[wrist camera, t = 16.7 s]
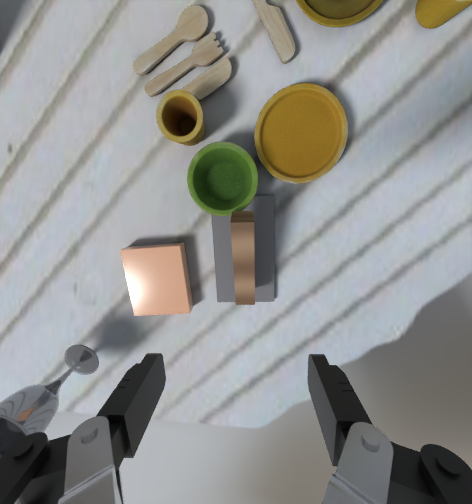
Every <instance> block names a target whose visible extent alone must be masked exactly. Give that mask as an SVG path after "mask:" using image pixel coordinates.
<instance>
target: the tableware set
mask: <svg viewBox="0 0 472 504" xmlns="http://www.w3.org/2000/svg"><path fill="white" fill-rule="evenodd" d="M296 1H297V3H298V5H299V6H300V8H301V9H302V10H303V12H304V13H305V14H306V15H307V16H308V17H309V18H311V19H312V20H313V21H315V22H317V23H319V24H321V25H324V26H329V27H343V26H348V25H351V24H354V23H357V22H359V21H360V20H362V19H364V18H365V17H367V16H368V15H369V14H371V13H372V12H373V11H374V10H375V9H376V8H377V7H378V6H379V5H380V4H381V3H382V1H383V0H296ZM253 3H254V5H255V7H256V9H257V11H258V13H259V15H260V17H261V20H262V22H263V24H264V26H265V28H266V30H267V32H268V34H269V36H270V38H271V41H272V43H273V45H274V47H275V49H276V51H277V53H278V55H279V57H280V60H281V62H282V63H283V64H286V63H287V62H289V61H290V60H291V59H292V57H293V55H294V53H295V50H296V46H295V42H294V39H293V36H292V34H291V32H290V30H289V28H288V25H287V23H286V21H285V19H284V17H283V14H282V12H281V10H280V8H279V7H277V6H272V5H269V4H267V2H266V0H253ZM471 4H472V0H418V2H417V4H416V10H415V13H416V19H417V21H418V23H419V24H420V25H421V26H423V27H424V28H429V29H431V28H437V27H439V26H441V25H442V24H444V23H445V22H447V21H448V20H449V19H451V18H452V17H454V16H455V15H457V14H458V13H459V12H461V11H462V10H464V9H465V8H466V7H468V6H469V5H471ZM207 28H208V15H207V12H206V11H205V9H204V8H203V7H201V6H199V5H191V6H189V7H187V8H186V9H185V10H184V11H183V12H182V13H181V15H180V18H179V21H178V25H177V28H176V29H175V31H174V32H172V33H171V34H170V35H168V36H167V37H166V38H164V39H163V40H162V41H160V42H159V43H158V44H156V45H155V46H153V47H152V48H151V49H149V50H148V51H146V52H145V53H143V54H142V55H141V56H139V57H138V58H137V59H136V60H135V61H134V62H133V68H134V70H135V72H136V73H137V74H138V75H141V76H143V75H145V74H146V73H148V72H149V71H150V70H151V69H152V68H153V67H154V66H155V65H157V64H158V63H159V62H160V61H161V60H162V59H163V58H164V57H165V56H166V55H168V54H169V53H170V52H171V51H172V50H173V49H174V48H175V47H177V46H178V45H179V44H180V43H182V42H184V41H189V42H194V41H197V40H199V39H200V38H201V37H202V36H203V35H204V34H205V33H206V30H207ZM216 38H217V37H216V35H215V33H214V31H213V32H211V33H210V34H208V35H207V36H205V37H203V38H202V39H200V40H199V41H198V42H197V43H196V44H195V45H194V48H193V51H192V53H191V55H190V56H189V57H188V58H186V59H185V60H183V61H182V62H180V63H179V64H177V65H176V66H174V67H172V68H171V69H169V70H167V71H166V72H164V73H162V74H161V75H159V76H157V77H156V78H154V79H153V80H151V81H149V82H148V83H147V84H146V85H145V92H146V93H147V94H148V95H149V96H150V97H153V96H155V95H157V94H159V93H160V92H161V91H163V90H164V89H165V88H167V87H168V86H169V85H171V84H172V83H173V82H175V81H176V80H177V79H179V78H180V77H181V76H183V75H184V74H185V73H187V72H188V71H189V70H191V69H192V68H194V67H197V66H200V67H207V66H208V65H210V64H211V63H213V62H214V61H215V60H216V59H218V58H219V57H220V56H221V55H222V54H223V52H224V51H223V49H222V47H219V48H218V46H219V45H220V43H219V41H218V40H216V41H214V40H215V39H216ZM231 74H232V66H231V62H230V60H229V59H228V58H227V57H225V58H223V59H222V60H220V61H219V62H218V63H216V64H215V65H213V66H212V67H211V68H209V69H208V70H207V71H205V72H204V73H202V74H201V75H200V76H198V77H197V78H196V79H194V80H193V81H192V82H190V83H189V84H188V85H186V86H185V87H184V88H182V89H181V90H173V91H170V92H168V93H167V94H166V95H164V96H163V97H162V98H161V100H160V102H159V104H158V107H157V111H156V118H157V123H158V126H159V129H160V130H161V132H162V133H163V134H164V135H165V136H166V137H167V138H168V139H170V140H172V141H174V142H177V143H181V144H184V145H188V146H192V145H196V144H198V143H199V142H200V141H201V140H202V138H203V136H204V134H205V124H204V118H203V112H202V108H201V105H200V103H199V101H198V100H197V99H199V100H202V99H203V98H205V97H206V96H207V95H209V94H210V93H212V92H213V91H214V90H216V89H217V88H219V87H220V86H221V85H223V84H224V83H225V82H226V81H228V80H229V78H230V77H231ZM196 98H197V99H196ZM347 136H348V121H347V117H346V113H345V110H344V108H343V106H342V104H341V102H340V101H339V99H338V98H337V97H336V96H335V95H334V94H333V93H332V92H330V91H329V90H328V89H326V88H324V87H322V86H320V85H317V84H312V83H298V84H294V85H291V86H288V87H286V88H283V89H282V90H280V91H279V92H277V93H276V94H275V95H273V96H272V97H271V98H270V99H269V100H268V102H267V103H266V104H265V106H264V107H263V109H262V111H261V112H260V114H259V117H258V120H257V123H256V127H255V135H254V139H255V148H256V152H257V155H258V158H259V160H260V161H261V163H262V165H263V166H264V167H265V169H266V170H267V171H268V172H269V173H270V174H271V175H273V176H274V177H276V178H278V179H280V180H282V181H285V182H288V183H306V182H310V181H313V180H316V179H318V178H320V177H322V176H323V175H325V174H326V173H327V172H329V171H330V170H331V169H332V168H333V167H334V165H335V164H336V163H337V162H338V160H339V159H340V157H341V155H342V153H343V151H344V148H345V146H346V141H347ZM187 181H188V188H189V191H190V194H191V196H192V198H193V200H194V201H195V202H196V204H197V205H198V206H199V207H200V208H201V209H203V210H204V211H206V212H208V213H210V214H212V215H216V216H230V215H232V211H242V210H244V209H245V208H246V207H247V206H248V205H249V204H250V203H251V201H252V200H253V198H254V196H255V194H256V192H257V188H258V181H259V180H258V170H257V167H256V164H255V162H254V160H253V158H252V157H251V155H250V154H249V153H248V152H247V151H246V150H245V149H243V148H242V147H241V146H239V145H237V144H234V143H231V142H215V143H211V144H209V145H207V146H205V147H204V148H202V149H201V150H200V151H199V152H198V153H197V154H196V155H195V156H194V158H193V159H192V161H191V163H190V166H189V169H188V176H187Z"/></svg>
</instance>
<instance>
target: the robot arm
mask: <svg viewBox="0 0 472 504" xmlns="http://www.w3.org/2000/svg"><path fill="white" fill-rule="evenodd" d="M165 381H166V376H165V369H164V362H163V356H162V354H161V353H148V354H146V356H145V357H144V359H143V360H142V362H141V363H140V364H135V365H134V366H133V367H132V368H130V369H129V370H128V371H127V372H126V374H125V375H124V377H123V378H122V380H121V381H120V382H119V384H118V385H117V388H115V390H114V391H113V393H112V394H111V395H110V397H109V398H108V400H107V401H106V403H105V404H104V405H103V407H102V408H101V410H100V411H99V413H98V414H97V415H96V417H93V418H91V419H88V420H86V421H85V422H83V423H82V424H81V425H79V426H78V427H77V428H76V429H75V430H74V431H73V433H72V434H70V435H67V436H64V437H60V438H57V439H53V440H50V441H48V438H47V435H46V434H45V433H43V432H36V433H32V434H29V435H27V436H25V437H23V438H22V439H20V440H18V441H17V442H16V443H14V444H13V445H12V446H11V447H10V448H8V449H7V450H6V451H5V453H4V454H3V455H2V456H1V457H0V504H124V497H123V490H122V482H121V474H120V468H119V467H120V465H121V462H122V460H123V458H133V457H134V455H135V453H136V451H137V448H138V446H139V444H140V441H141V439H142V437H143V435H144V432H145V430H146V428H147V426H148V423H149V421H150V419H151V417H152V414H153V412H154V410H155V408H156V405H157V403H158V401H159V399H160V396H161V394H162V392H163V389H164V386H165ZM308 387H309V392H310V395H311V398H312V401H313V404H314V407H315V410H316V414H317V417H318V420H319V424H320V427H321V430H322V433H323V437H324V440H325V443H326V446H327V449H328V452H329V456H330V459H331V462H332V465H333V466H337V469H336V472H335V474H333V475H332V476H331V478H330V480H329V483H328V486H327V489H326V492H325V495H324V498H323V501H322V504H472V470H471V469H470V467H469V466H468V465H467V464H466V463H465V462H464V461H463V460H462V459H461V458H460V457H458V456H457V455H456V454H454V453H453V452H451V451H450V450H448V449H446V448H444V447H441V446H438V445H433V444H427V445H424V446H423V447H422V448H421V451H420V452H418V451H415V450H412V449H409V448H406V447H403V446H400V445H398V444H395V443H393V442H391V441H390V440H389V439H388V437H387V436H386V435H385V434H384V433H383V432H382V431H381V430H380V429H378V428H377V427H375V426H373V424H372V423H371V421H370V419H369V417H368V415H367V413H366V411H365V410H364V408H363V406H362V404H361V402H360V400H359V399H358V397H357V395H356V393H355V392H354V389H353V388H352V386H351V385H350V382H349V380H348V378H347V377H346V375H345V373H344V372H343V371H342V370H341V369H340V368H339V367H338V366H336V365H329V363H328V361H327V359H326V357H325V355H324V354H309V359H308Z"/></svg>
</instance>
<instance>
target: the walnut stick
mask: <svg viewBox="0 0 472 504" xmlns="http://www.w3.org/2000/svg"><path fill="white" fill-rule="evenodd" d="M230 227H231V241H232V256H233V270H234V284H235V299H236V305H255V256H254V212H253V211H232V215H231V221H230Z"/></svg>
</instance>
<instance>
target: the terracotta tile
mask: <svg viewBox="0 0 472 504" xmlns="http://www.w3.org/2000/svg"><path fill="white" fill-rule="evenodd" d="M120 253H121V257H122V262H123V266H124V271H125V275H126V280H127V284H128V289H129V294H130V298H131V303H132V307H133V312H134V316H142V315H162V314H182V313H190V312H191V310H192V308H193V300H192V293H191V286H190V279H189V272H188V265H187V258H186V251H185V244H184V243H170V244H156V245H142V246H129V247H126V248H124V249H121V250H120Z"/></svg>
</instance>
